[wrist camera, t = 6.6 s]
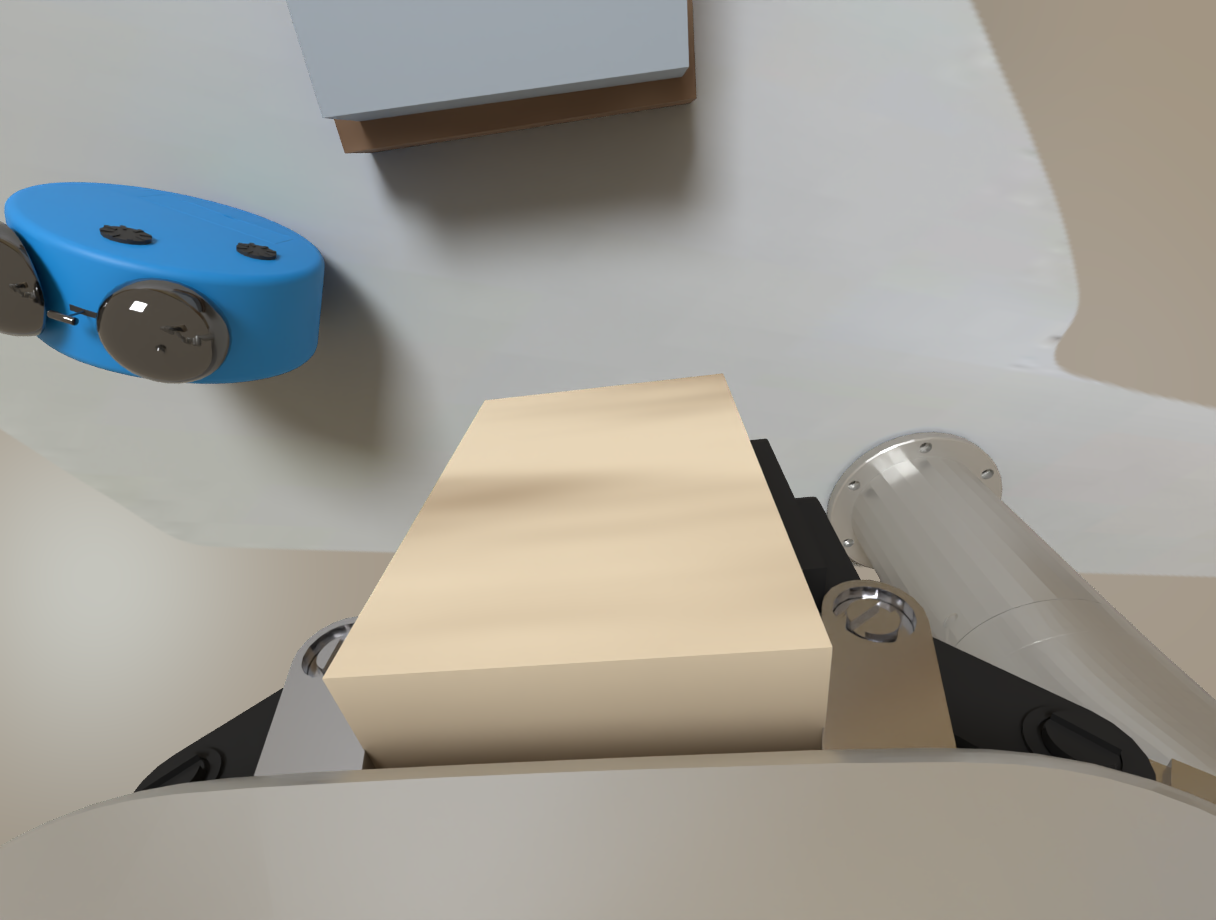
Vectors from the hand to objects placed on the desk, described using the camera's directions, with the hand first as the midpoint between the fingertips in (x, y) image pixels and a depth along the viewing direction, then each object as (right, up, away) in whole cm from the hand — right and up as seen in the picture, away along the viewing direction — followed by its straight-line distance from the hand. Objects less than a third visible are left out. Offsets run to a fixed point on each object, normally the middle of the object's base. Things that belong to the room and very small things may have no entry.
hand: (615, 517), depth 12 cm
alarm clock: (-23, +15, +25) cm, 37 cm away
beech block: (0, +1, +1) cm, 1 cm away
